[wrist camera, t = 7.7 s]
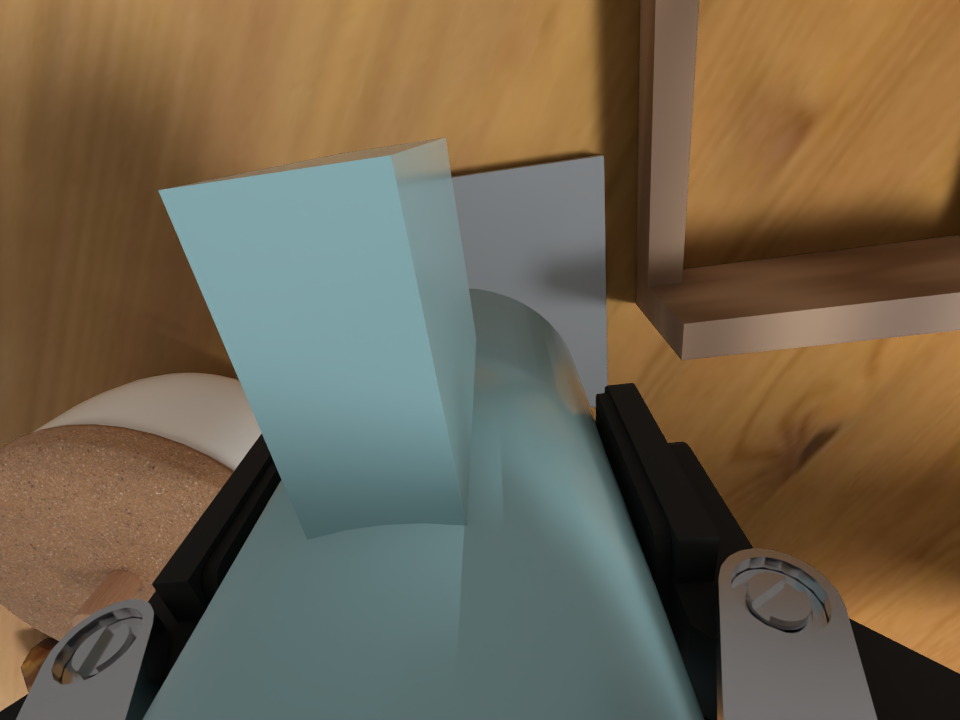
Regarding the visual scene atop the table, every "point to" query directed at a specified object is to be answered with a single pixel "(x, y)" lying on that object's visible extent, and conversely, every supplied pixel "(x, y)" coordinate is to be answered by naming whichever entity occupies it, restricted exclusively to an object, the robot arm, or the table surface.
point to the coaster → (543, 249)
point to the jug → (408, 473)
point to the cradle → (767, 282)
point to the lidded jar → (114, 493)
